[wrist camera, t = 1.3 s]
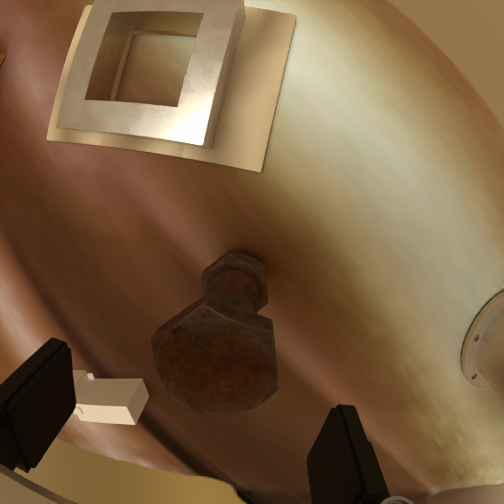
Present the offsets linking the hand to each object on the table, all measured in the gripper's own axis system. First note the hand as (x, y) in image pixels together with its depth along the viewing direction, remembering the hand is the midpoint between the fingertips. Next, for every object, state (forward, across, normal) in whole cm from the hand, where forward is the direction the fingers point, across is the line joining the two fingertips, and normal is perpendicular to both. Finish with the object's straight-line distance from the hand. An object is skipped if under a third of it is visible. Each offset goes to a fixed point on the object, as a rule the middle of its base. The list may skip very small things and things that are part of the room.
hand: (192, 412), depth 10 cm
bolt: (+18, -1, 0) cm, 18 cm away
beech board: (+18, +9, -15) cm, 25 cm away
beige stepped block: (+19, +12, +16) cm, 28 cm away
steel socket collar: (+18, +9, -15) cm, 25 cm away
